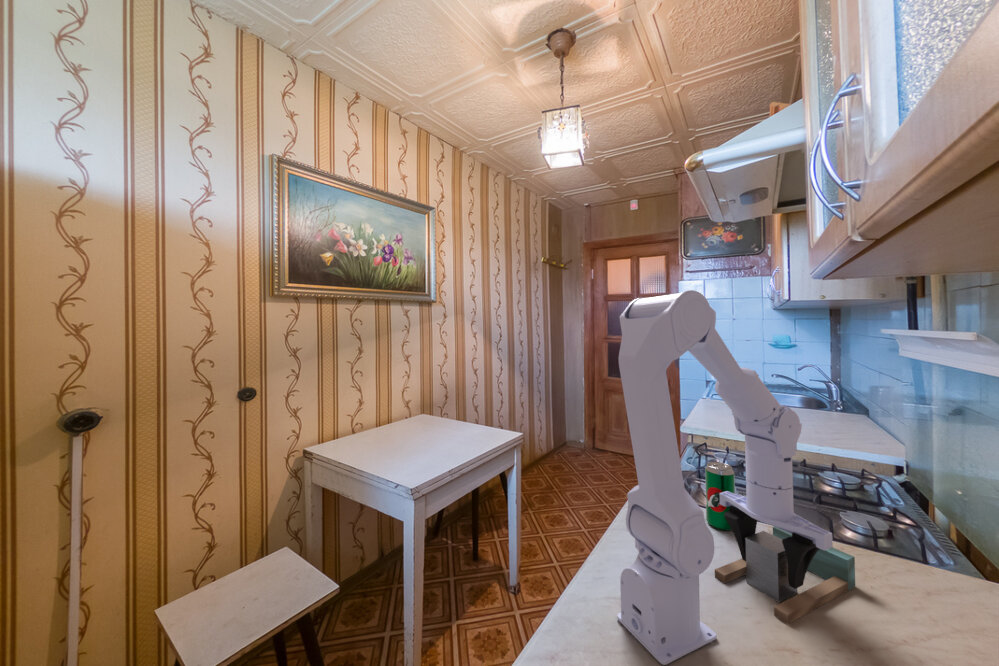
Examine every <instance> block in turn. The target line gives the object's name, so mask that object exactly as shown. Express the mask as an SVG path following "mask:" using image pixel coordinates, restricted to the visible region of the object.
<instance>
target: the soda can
mask: <svg viewBox="0 0 999 666" xmlns="http://www.w3.org/2000/svg"><path fill="white" fill-rule="evenodd" d="M704 473H705V476H704V477H705V480H704V481H705V483H704V484H705V511H706V512H705V514H706V515H705V517H706V520H705V521H707V523H708V524H709V525H710V526H711V527H712V528H714V529H717V530H719V531H726V532H727V531H732V529H731V527H730V525H729V524H728V522H727V521H726V519H725V516H724V513H725V512H728V511H729V506H727V507H725V506H723V505H720V493H722V492H726V491H728V492H731V493H734V494H736V482H735V481H736V479H735V478H736V477H735V472H734V470H733V467H732V466H731V465H729V464H728V463H724V462H720V461H719V462H717V461H711V462H709V461H708V463H706V467H705V468H704Z"/></svg>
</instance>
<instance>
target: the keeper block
mask: <svg viewBox="0 0 999 666" xmlns="http://www.w3.org/2000/svg"><path fill="white" fill-rule="evenodd" d="M745 540H746V574H745V576H746V584H748V585H750V586H752V587H753V588H755V589H756V590H758V591H759V592H761V593H762V594H764V595H766V596H768V597H769V598H771V599H773V600H774V601H776V602H777V603H782V601H783V602H784V600H786V599H789V598H790V597H793V596H795V595H797V594H798V588H796V589H794V588H792V587H791V586H789V581H788V562H787V557H786V552H785V549H784V546H783V543H782V540H783V539H780V538H778V537H776V536H774V535H773V533H769V532H767V531H765V530H762V531H759V532H757V533H756V532H755V534H754V535H751V536H748V537H745Z"/></svg>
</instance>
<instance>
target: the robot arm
mask: <svg viewBox="0 0 999 666" xmlns="http://www.w3.org/2000/svg"><path fill="white" fill-rule="evenodd" d="M716 322H717V313H716V311H715V309H714V308H712V307H711V306H710V302H709V301H708V299H707V298H706V297H705V296H704V294H702V293H701V292H699V291H696V290H692V289H691V290H684V291H682V292H678V293H671V294H664V295H658V296H656V295H655V296H652V297H638V298H635V299H633V300H632V301H630V303H628V305H627V306H626V308H625V309H624V310H623V312H622V313H621V314H620V315H619V325H620V331H621V340H620V341H621V342H620V347H619V353H618V359H617V360H618V368H619V373H620V374H619V375H620V379H621V380H620V381H621V385H622V392H623V398H624V403H625V411H626V417H627V423H628V429H629V435H630V441H631V446H632V452H633V458H634V465H635V470H636V471H635V472H636V475H637V483H638V484H637V485H635V486H634V487H633V488H632V489H630V490H629V491H628V492H627V494H626V497H627V511H626V515H625V525H626V529H627V532H628V533H629V534H630V536H632V538H634V545H635V548H636V550H637V551H638V554H637V556H636V558H635V560H634V561H633V562H632V563H631V564H630V565H628V566H627V567H626V568H624V569H623V570H622V571H621V575H620V579H619V580H620V581H619V582H620V612H619V613H617V614H616V618H617V620H618V621H619V622H620V623H621V624H622V625H623V626H624V627H625V628H626V629H627V630H628V632H629V633H631V635H632V636H633V637H634V638H635V639H636V640H637V641H638V642H639V643H640V644H641V645H642V646H643V647H644V648H645V649H646V650H647V651H648V652H649V653H650V654H651V655H652V656H653V658H654V659H655V660H657V662H658V663H660V664H661V665H663V666H665V665H668V664H670V663H673V662H674V661H676V660H678V659H680V658H682V657H683V656H685V655H688V654H690V653H692V652H693V651H696V650H698V649H699V648H702V647H703V646H705V645H707V644H709V643H711V642H712V641H715V640H717V639H718V634H717V633H716V632H715V631H714V630H713V629H712V628H710V627H709V626H708V625H707V624H705V623H704V622H703V621H702V620H701V610H700V609H701V607H700V605H701V603H700V601H701V600H700V575H701V574H703V573H704V572H705V571H706V570H707V569H708V568H709V567H710V565H711V564H712V561H713V559H714V555H715V540H714V535H713V533H712V531H711V530H710V528H709V527H708V526H707V523H706V520H705V514H704V513H705V512H704V511H703V509H702V508H701V507H700V506H699V504H698V503H697V501H695V499H694V498H693V497H692V496H691V495H690V494H689V493H690V492H688V491H687V490H686V488H685V482H684V477H683V471H682V464H681V463H682V462H681V457H680V452H679V451H680V450H679V445H678V438H677V433H676V426H675V421H674V414H673V406H672V402H671V401H672V400H671V395H670V388H669V383H668V382H669V380H668V376H667V370H668V368H669V366H671V364H672V363H673V362H674V361H676V360H678V359H679V358H681V357H682V356H683V355H684V354H685V353H687V352H688V353H690V355H692V356H693V357H694V358H695V359H696V360H697V362H699V363H700V364H701V366H702V367H703V368H704V369H705V370H706V371H708V373H709V374H711V376H712V377H713V378H714V379H715V380H716V381H715V384H714V388H715V392H716V393H717V395H718V396H719V397H720V398H721V400H722V401H723V402H724V403H725V404H726V405H727V407H728V408H729V409H730V411H731V415H732V416H733V418H734V419H733V420H734V425H735V428H736V429H735V430H737V432H739V433H740V434H741V435H744V451H745V453H744V455H745V456H744V457H745V489H746V490H745V492H746V495H745V496H744V495H741V494H737V493H735V494H734V493H731V492H728V491H726V492H722V493H720V505H723V506H725V507H727V506H729V511H728V512H725V513H724V516H725V519H726V521H727V522H728V524H729V525H730V527H731V529H732V530H731V531H732V532H733V535H734V537H735V539H736V542H737V545H738V549H739V553H740V555H741V559H743V560H744V561H746V540H745V537H748V536H751V535H754V534H756V532H757V531H756V530H757V523H758V522H761V523H763V524H767V525H770V526H772V527H774V526H775V527H777V528H779V529H782V530H784V531H786V532H789V533H791V534H792V537H788V538H785V539H783V540H782V543H783V546H784V549H785V552H786V557H787V562H788V581H789V586H791V587H792V588H794V589H796V588H797V589H798V588H800V587H802V586H804V582H805V578H806V575H807V572H808V570H807V569H808V566H809V564H810V562H811V560H812V559H813V557H814V556H815V554H816V553H817V551H818V550H819V549H822V550H824V551H825V550H827V549H830V548H831V547H833V548H834V545H833V532H831V531H829V530H826V529H823V528H821V527H820V526H818V525H816V524H814V523H812V522H811V521H810V520H808V519H806V518H803V517H802V516H800V515H799V514H796V513H795V512H794V485H793V484H794V483H793V482H794V481H793V480H794V479H793V478H794V477H793V475H794V474H793V457H794V456H796V453H797V452H798V450H797V449H798V448H797V445H798V444H797V443H798V440H799V439H800V437H801V434H802V433H801V432H802V425H803V424H802V423H801V421H800V417H799V415H798V413H796V411H794V410H793V409H791V407H789V406H787V405H781V404H780V402H779V401H778V400H777V399H776V398H775V396H774V395H773V394H772V392H771V391H770V390H769V389H768V387H767V386H766V385H765V383H764V382H763V381H762V379H761V378H760V377H759V374H758V373H757V372H756V371H755V370H753V369H751V368H748V367H742V366H741V367H740V365H739V363H738V362H737V361H736V359H735V357H734V356H733V354H732V353H731V351H730V350H729V348H728V346H727V345H726V344H725V342H724V341H723V339H722V337H721V336H720V334H719V332H718V330H717V329H716Z"/></svg>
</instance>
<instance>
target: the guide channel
mask: <svg viewBox="0 0 999 666" xmlns="http://www.w3.org/2000/svg"><path fill="white" fill-rule="evenodd" d="M772 535H774V536H776V537H778V538H780V539H785V538H788V537H792V534H791V533H789V532H786V531H784V530H782V529H779V528H777V527H775V526H772ZM855 561H856V560H855V556H854V555H851V554H848V553H847V552H844V551H843V550H839V549H837V548H835V547H834V546H833V547H831V548H830V549H827V550H825V551H824V550H822V549H819V550H818V551H817V553H816V554H815V556H814V557H813V559H812V560H811V562H810V564H809V566H808V569H807V572H808V571H809V572H811V573H812V574H814V575H817V576H818V577H820V578H822V579H824V581H822V582H819V583H818V584H816V585H814V586H812V587H810V588H808V589H806V590H805V591H803V592H800V593H799V594H798V593H797V594H795V595H793V596H791V598H790V597H789V598H787V600H786V599H785V601H784V600H783V602H782V601H781V602H780V603H779V604H776V605H775V606H773V609H774V610H773V616H774V617H776V618H777V619H778V620H780V621H782V622H784V623H785V624H786V625H789V624H791V623H793V622H794V621H797V619H799V618H801V617H803V616H805V615H807V614H809V613H811V612H812V611H814V610H817V608H819V607H821V606H823V605H825V604H828V602H830V601H832V600H834V599H836V598H837V597H840V596H841V595H843V594H845V593H847V592H848V591H850V590H852V589H855V587H856V566H855V565H856V563H855ZM742 576H743V577H744V576H746V561H744V560H743V559H742V558H740V559H737V560H735V561H732V562H730V563H727V564H725V565H722V566H720V567H716V568H715V569H714V578H715V579H717V580H719V581H721V582H722V583H723V584H727V583H730V582H732V581H733V580H736V579H737V578H738V579H739V578H741V577H742Z"/></svg>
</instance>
